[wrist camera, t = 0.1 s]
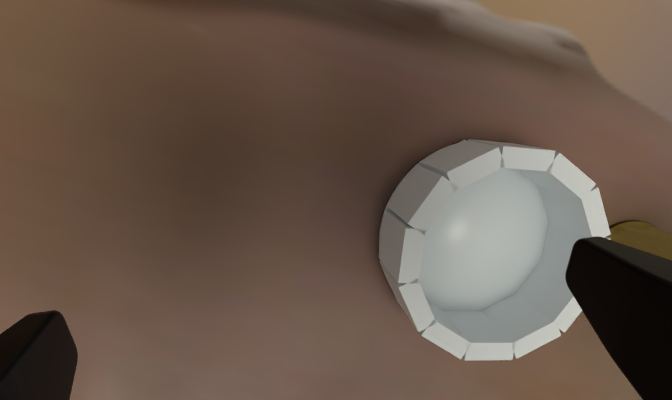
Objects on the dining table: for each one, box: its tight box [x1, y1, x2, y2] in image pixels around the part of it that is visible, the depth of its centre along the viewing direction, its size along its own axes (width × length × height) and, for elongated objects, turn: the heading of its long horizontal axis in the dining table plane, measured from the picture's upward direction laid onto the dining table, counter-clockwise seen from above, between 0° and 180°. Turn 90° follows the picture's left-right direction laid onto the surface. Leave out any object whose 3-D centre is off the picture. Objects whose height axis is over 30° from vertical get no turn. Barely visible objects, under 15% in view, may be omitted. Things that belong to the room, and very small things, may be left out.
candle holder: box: [378, 139, 611, 360], centre depth 23 cm, size 11×11×4 cm
